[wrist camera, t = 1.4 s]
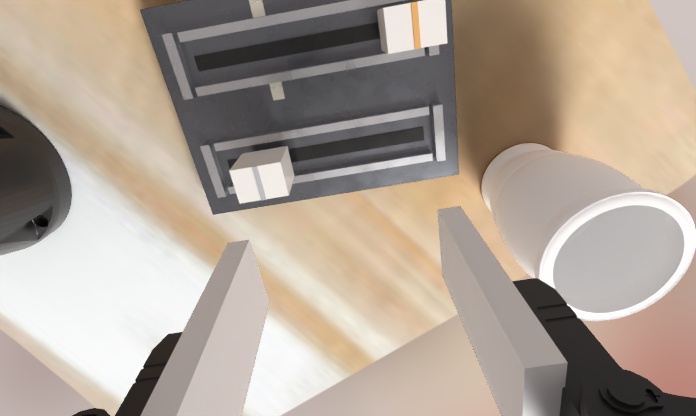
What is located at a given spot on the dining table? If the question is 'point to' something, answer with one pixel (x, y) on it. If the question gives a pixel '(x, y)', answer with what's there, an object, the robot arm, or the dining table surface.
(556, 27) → the dining table surface
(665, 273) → the jar
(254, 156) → the fader
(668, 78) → the dining table surface
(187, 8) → the dark grey slotted tray
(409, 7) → the fader
